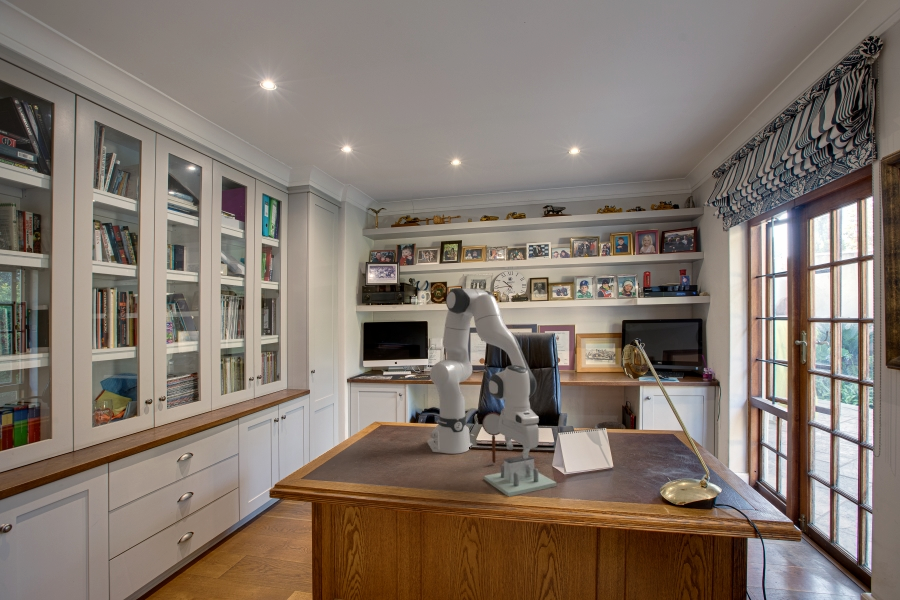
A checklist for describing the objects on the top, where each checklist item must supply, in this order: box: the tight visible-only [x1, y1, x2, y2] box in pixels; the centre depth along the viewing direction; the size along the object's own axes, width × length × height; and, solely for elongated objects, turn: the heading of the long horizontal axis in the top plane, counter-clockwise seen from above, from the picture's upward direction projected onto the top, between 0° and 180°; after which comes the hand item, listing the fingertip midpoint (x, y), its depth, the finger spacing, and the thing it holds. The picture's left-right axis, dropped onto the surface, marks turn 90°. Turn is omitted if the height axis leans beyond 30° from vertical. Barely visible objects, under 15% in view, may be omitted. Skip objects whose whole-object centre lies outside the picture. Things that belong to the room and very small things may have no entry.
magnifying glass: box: [481, 412, 501, 466], centre depth 163 cm, size 9×2×20 cm, turn 74°
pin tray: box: [483, 464, 557, 497], centre depth 145 cm, size 16×19×5 cm
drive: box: [503, 454, 535, 483], centre depth 145 cm, size 4×10×7 cm, turn 114°
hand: (517, 453), depth 145 cm, fingers open, 8 cm apart
